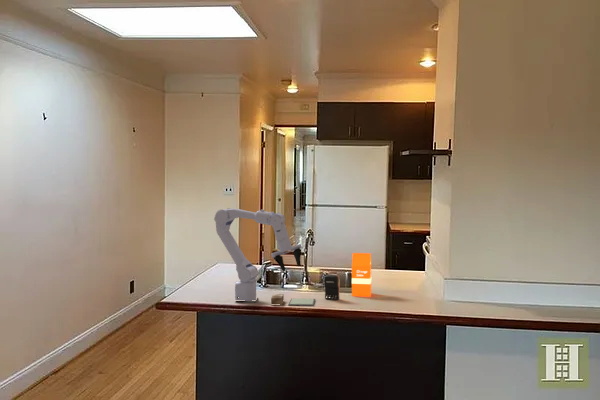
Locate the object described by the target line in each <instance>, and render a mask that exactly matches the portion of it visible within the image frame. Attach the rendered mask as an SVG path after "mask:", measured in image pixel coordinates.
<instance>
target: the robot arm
mask: <svg viewBox="0 0 600 400" xmlns="http://www.w3.org/2000/svg"><path fill="white" fill-rule="evenodd" d="M238 218H241V219H246V220H247V219H248V220H254V222H255V223H257V224H260V225H261V224H262V225H267V226H271V227H272V228H273V229H272V230H273V232H274V235H275V238H276V242H277V243H276V244H277V246H278V249H279V250H278V251H275V252H272V253H270V255H271V258H272V259H273V260H274V261H275V262H276V263H277V264H278V266H279V267H280V269H281V271H282V272H286V266H285V263H284V258H283V256H282V255H286V254H288V253H291V252H292V255H293V256H294V259H295V262H296V265H297V267H301V266H302V265H301V263H302V262H301V257H302V256H301V255H302V249H303V247H302V244H300V243H299V244H296V245H292V243H291V238H290V236H289V232H288V230H287V229H288V228H287V226H286V216H285V215H284V214H283V213H281V212H276V213H275V212H274V211H266V210H265V209H260V210H257V211H255V212H254V211H249V210H245V209H239V208H229V207H228V208H224V209H218V210H217V211H216V212H215V215H214V218H213V220H214V222H215V230H216V234H217V235H218V237H219V239H220V241H221V242H222V243H223V245H224V247H225V249H226V251H227V252H228V253H229V255H230V256H231V259H232V260H233V262H234V264H235V266H236V267H235V270H236V272H237V276H238V279H239V280H237V281H236V282H235V286H234V291H235V292H234V295H235V296H234V298H235V299H234V300H245V301H252V300H256V297H257V279H256V278H257V276H258V274H259V270H258V268H257V267H256V266H255V265H253V264H252V261H250V260H248V259H247V258H246V256H245V255H244V252H243V251H242V249H241V248H240V246H239V243H237V242H236V239H235V238H234V236H233V235H232V233H231V232H230V229H231V225H232V224H233V222H234V221H235V219H238ZM238 297H239V298H238Z"/></svg>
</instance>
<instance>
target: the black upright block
mask: <svg viewBox="0 0 600 400" xmlns="http://www.w3.org/2000/svg"><path fill="white" fill-rule="evenodd" d="M340 279H341V278H340V276H339V275H337V274H330V273H329V274H326V275H324V277H323V286H324V291H325V292H324V299H325V300H327V301H328V300H329V301H338V300H340V289H341V287H340V284H341V282H340Z"/></svg>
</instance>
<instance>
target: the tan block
mask: <svg viewBox="0 0 600 400" xmlns="http://www.w3.org/2000/svg"><path fill="white" fill-rule="evenodd" d="M284 297H285V296H284V293H273V294H272V296H271V297H270V300H271V301H270V305H271V304H280V305H279V306H282V305H283V303H284V301H283V300H285V298H284ZM282 302H283V303H282ZM281 304H282V305H281Z"/></svg>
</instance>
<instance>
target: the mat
mask: <svg viewBox="0 0 600 400" xmlns="http://www.w3.org/2000/svg"><path fill="white" fill-rule="evenodd" d="M315 302H316V299H315V298H290V300H289V302H288V305H302V306H301V307H314V305H315Z"/></svg>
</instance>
